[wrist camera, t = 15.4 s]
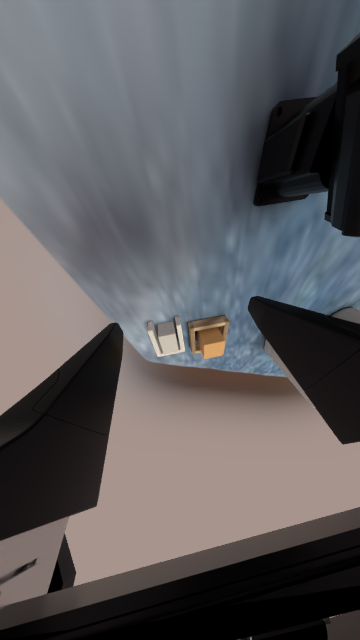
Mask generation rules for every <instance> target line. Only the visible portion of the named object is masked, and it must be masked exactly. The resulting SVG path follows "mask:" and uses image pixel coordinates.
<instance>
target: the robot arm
mask: <svg viewBox="0 0 360 640" xmlns="http://www.w3.org/2000/svg"><path fill="white" fill-rule="evenodd" d="M336 71H338V81H337V83H336V84H335V85H333V86H332V87H331V88H329V89H328V90H327V91H325V92H324V93H323V94H321V95H320V96H318V97H312V98H303V99H295V100H286V101H281V102H279V103H278V104H277V105H276V106H275V107H274V108H273V110H272V112H271V115H270V120H269V126H268V131H267V136H266V141H265V143H264V147H263V152H262V157H261V162H260V168H259V173H258V178H257V181H258V183H257V188H256V193H255V198H254V205H255V206H262V205H269V204H275V203H282V202H288V201H295V200H301V199H305V198H306V197H307V196H308V195H309V194H313V193H320V192H326V191H328V202H327V212H325V220H326V221H328V222H331V224H332V226H333V227H335V228H337V229H339V230H341V231H342V235H344V236H351V237H360V33H359V34H358V35H357V36H356V37H355V38H354V39H353V40H352V41H351V42H350V43H349V44H348V45H347V46H346V47H345V48H344V49H343V50H342V51H341V52H340V53H339V54H338V55H337V60H336ZM277 110H278V111H279V115H278V117H277V116H276V112H277ZM259 198H260V202H259V203H258V199H259ZM248 311H249V313H250V314H251V316H252V318H253V320H254V322H255V323H256V325H257V327H258V328H259V330H260V331H261V333H262V334H263V335H264V337H265V338H266V340H267V341H268V342H269V344H270V345H271V347H272V348H273V349H274V351H275V352H276V353H277V355H278V356H279V358H280V359H281V360H282V362H283V363H284V365H285V366H286V367H287V369H288V370H289V372H290V373H291V374H292V376H293V377H294V378H295V380H296V381H297V383H298V384H299V385H300V387H301V388H302V390H303V391H304V392H305V394H306V395H307V397H308V398H309V399H310V401H311V402H312V404H313V405H314V406H315V408H316V409H317V411H318V412H319V413H320V415H321V416H322V417H323V419H324V420H325V422H326V423H327V424H328V426H329V427H330V428H331V430H332V431H333V433H334V434H335V436H336V437H337V438H338V440H339V441H340V442H341V443H342V444H349V443H355V442H360V324H359V323H355V322H351V321H347V320H343V319H340V318H336V317H332V316H329V315H325V314H321V313H318V312H314V311H310V310H307V309H303V308H300V307H296V306H292V305H289V304H285V303H281V302H278V301H274V300H271V299H267V298H263V297H260V296H255V297H251V298H250V301H249V305H248ZM122 352H123V331H122V329H121V328H120V326H119V324H118V323H111V324H109V325H108V326H107V327H106V328H105V329H103V330H102V331H101V332H100V333H99V334H98V335H96V336H95V337H94V338H93V339H92V340H91V341H90V342H88V343H87V344H86V345H85V346H84V347H83V348H81V349H80V350H79V351H78V352H77V353H76V354H75V355H73V356H72V357H71V358H70V359H69V360H68V361H66V362H65V363H64V364H63V365H62V366H61V367H60V368H58V369H57V370H56V371H55V372H54V373H53V374H51V375H50V376H49V377H48V378H47V379H46V380H44V381H43V382H42V383H41V384H40V385H38V386H37V387H36V388H35V389H33V390H32V391H31V392H30V393H28V394H27V395H26V396H25V397H23V398H22V399H21V400H20V401H18V402H17V403H16V404H15V405H13V406H12V407H11V408H9V409H8V410H7V411H6V412H4V413H3V414H2V415H1V416H0V640H250V637H251V636H252V640H360V507H358V508H355V509H351V510H348V511H344V512H341V513H337V514H333V515H330V516H326V517H322V518H319V519H315V520H312V521H308V522H304V523H301V524H297V525H294V526H290V527H286V528H283V529H279V530H276V531H272V532H268V533H265V534H261V535H258V536H254V537H250V538H247V539H243V540H240V541H236V542H233V543H229V544H225V545H222V546H218V547H214V548H211V549H207V550H204V551H200V552H196V553H193V554H189V555H186V556H182V557H178V558H175V559H171V560H168V561H164V562H160V563H157V564H153V565H150V566H146V567H142V568H139V569H135V570H132V571H128V572H125V573H121V574H117V575H114V576H110V577H106V578H103V579H99V580H95V581H92V582H88V583H85V584H81V585H78V586H74V587H73V584H74V580H75V575H76V571H75V567H74V564H73V560H72V557H71V553H70V550H69V547H68V543H67V540H66V536H65V529H66V525H67V522H68V518H69V516H71V515H74V514H77V513H80V512H82V511H85V510H88V509H91V508H93V507H96V506H97V501H98V496H99V491H100V484H101V479H102V473H103V467H104V461H105V455H106V450H107V443H108V438H109V431H110V425H111V420H112V414H113V408H114V401H115V396H116V390H117V384H118V377H119V372H120V367H121V361H122ZM340 614H341V615H340ZM336 615H338V616H336ZM332 616H335V617H332ZM329 617H332V618H329Z"/></svg>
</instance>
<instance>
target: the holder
mask: <svg viewBox="0 0 360 640" xmlns="http://www.w3.org/2000/svg"><path fill="white" fill-rule="evenodd" d="M219 326H220V328H219V330H220V332H221V334H222V335H223V337H224V339H225V342H226V337H227V331H228V326H229V320H228V319H227V318H226V316H225V315H223V316H218V317H212V318H207V319H202V320H197V321H192V322H188V328H189V338H190V348H191V351H192V354H196V353H201V349H200V346H199V344H195V333H194V331H198V330H203V329H208V328H213V327H219ZM224 348H225V347H224Z"/></svg>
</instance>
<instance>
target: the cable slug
mask: <svg viewBox="0 0 360 640" xmlns="http://www.w3.org/2000/svg"><path fill="white" fill-rule="evenodd" d="M158 338H159V341H160V344H161V347H162V350H163V353H164V354H167V353H172V352H177V351H179V350H178V344H177V338H176V333H175V328H174V323H173V321H172V322H167V323H162V324H158Z"/></svg>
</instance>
